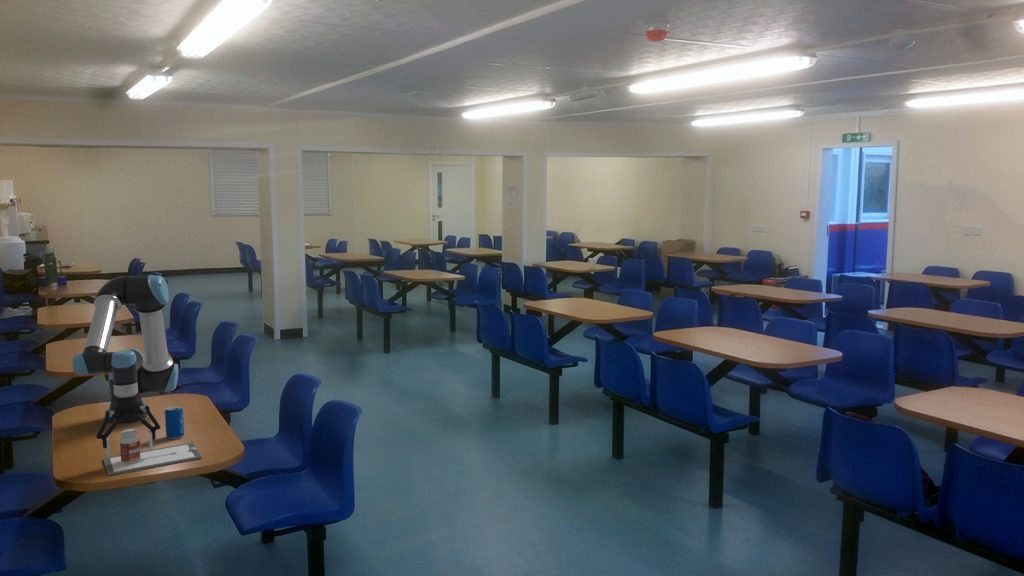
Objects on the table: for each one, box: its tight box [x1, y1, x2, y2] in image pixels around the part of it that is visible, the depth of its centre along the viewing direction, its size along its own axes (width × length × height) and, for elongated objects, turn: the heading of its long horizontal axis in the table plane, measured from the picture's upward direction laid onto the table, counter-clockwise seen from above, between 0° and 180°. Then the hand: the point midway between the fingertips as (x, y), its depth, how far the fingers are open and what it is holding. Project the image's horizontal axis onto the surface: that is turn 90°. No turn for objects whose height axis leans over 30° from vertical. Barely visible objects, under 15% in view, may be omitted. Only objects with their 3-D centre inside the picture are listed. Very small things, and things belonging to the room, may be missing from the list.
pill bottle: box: [119, 428, 141, 464], centre depth 261 cm, size 6×6×11 cm
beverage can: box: [164, 405, 185, 440], centre depth 289 cm, size 6×6×12 cm
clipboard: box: [102, 442, 203, 477], centre depth 266 cm, size 18×30×1 cm, turn 124°
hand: (130, 452), depth 262 cm, fingers open, 13 cm apart
